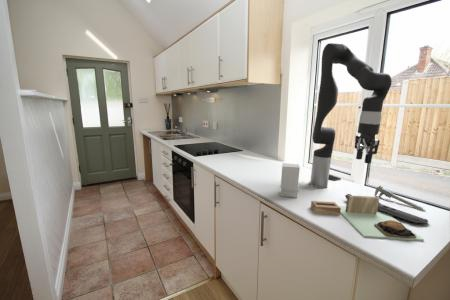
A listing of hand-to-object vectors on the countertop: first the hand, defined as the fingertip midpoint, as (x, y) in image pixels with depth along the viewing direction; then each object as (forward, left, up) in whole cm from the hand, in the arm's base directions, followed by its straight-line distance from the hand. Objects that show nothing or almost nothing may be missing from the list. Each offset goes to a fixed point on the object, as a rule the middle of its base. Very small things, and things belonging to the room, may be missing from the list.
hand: (363, 160), depth 97 cm
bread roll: (+21, +3, -21) cm, 30 cm away
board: (+7, +5, -17) cm, 19 cm away
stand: (+6, -16, -22) cm, 27 cm away
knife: (+3, +10, -21) cm, 24 cm away
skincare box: (-10, -28, -22) cm, 37 cm away
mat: (+13, 0, -22) cm, 25 cm away
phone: (-45, +5, -22) cm, 50 cm away
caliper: (-8, +24, -22) cm, 34 cm away
